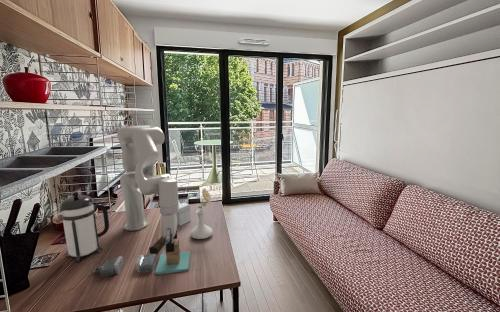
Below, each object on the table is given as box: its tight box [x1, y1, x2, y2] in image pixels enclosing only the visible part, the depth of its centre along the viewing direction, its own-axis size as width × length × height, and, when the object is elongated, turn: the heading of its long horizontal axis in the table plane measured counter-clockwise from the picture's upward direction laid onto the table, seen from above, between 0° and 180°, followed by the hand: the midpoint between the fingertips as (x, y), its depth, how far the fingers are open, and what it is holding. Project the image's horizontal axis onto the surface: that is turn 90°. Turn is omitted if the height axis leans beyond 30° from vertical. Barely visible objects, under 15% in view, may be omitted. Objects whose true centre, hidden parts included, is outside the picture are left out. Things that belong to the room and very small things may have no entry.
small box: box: [177, 202, 192, 226], centre depth 149 cm, size 8×6×10 cm
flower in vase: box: [190, 188, 213, 240], centre depth 132 cm, size 13×11×25 cm
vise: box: [92, 253, 158, 277], centre depth 107 cm, size 8×23×4 cm, turn 99°
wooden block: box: [165, 238, 181, 265], centre depth 109 cm, size 5×5×9 cm
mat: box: [154, 251, 191, 275], centre depth 110 cm, size 13×13×1 cm
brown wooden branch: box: [148, 234, 166, 255], centre depth 126 cm, size 19×4×5 cm, turn 170°
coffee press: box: [57, 191, 110, 263], centre depth 117 cm, size 17×16×30 cm
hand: (172, 245), depth 109 cm, fingers open, 9 cm apart
